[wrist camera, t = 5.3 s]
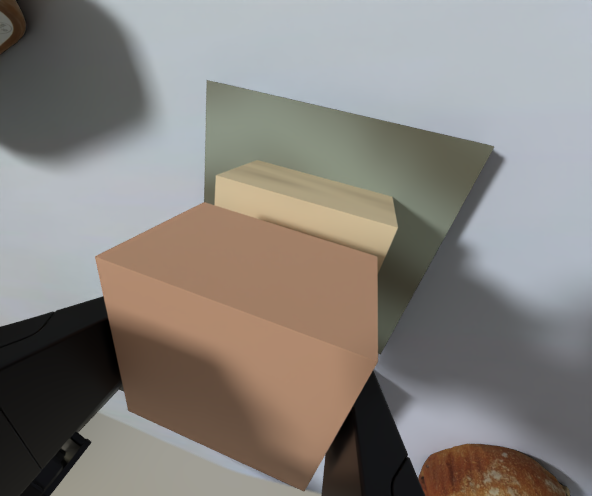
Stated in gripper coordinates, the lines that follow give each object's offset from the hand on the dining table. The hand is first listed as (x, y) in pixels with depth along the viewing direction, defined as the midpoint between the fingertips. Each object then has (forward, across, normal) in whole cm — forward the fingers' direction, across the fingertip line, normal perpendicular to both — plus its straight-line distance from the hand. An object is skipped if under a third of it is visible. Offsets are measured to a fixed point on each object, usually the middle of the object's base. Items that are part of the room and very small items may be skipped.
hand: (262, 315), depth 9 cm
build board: (+8, 0, 0) cm, 8 cm away
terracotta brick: (+1, 0, 0) cm, 1 cm away
